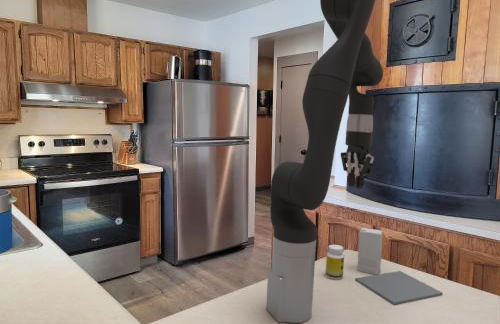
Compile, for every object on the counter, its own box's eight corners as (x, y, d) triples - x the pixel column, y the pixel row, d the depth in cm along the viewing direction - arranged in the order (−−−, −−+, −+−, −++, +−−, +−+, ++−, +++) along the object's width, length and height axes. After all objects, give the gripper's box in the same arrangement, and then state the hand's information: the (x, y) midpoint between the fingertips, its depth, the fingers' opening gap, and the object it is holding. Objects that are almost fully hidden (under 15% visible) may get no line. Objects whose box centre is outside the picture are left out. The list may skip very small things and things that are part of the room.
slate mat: (394, 305, 85) (394, 302, 85) (355, 280, 98) (355, 278, 98) (442, 295, 91) (442, 292, 91) (399, 272, 104) (400, 270, 104)
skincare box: (380, 270, 105) (384, 230, 104) (378, 276, 101) (382, 234, 100) (358, 266, 108) (362, 226, 107) (356, 271, 104) (359, 230, 103)
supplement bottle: (343, 281, 97) (345, 250, 96) (325, 278, 98) (327, 248, 97) (342, 273, 102) (344, 244, 101) (325, 271, 103) (327, 243, 102)
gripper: (334, 129, 113) (331, 183, 115) (365, 130, 100) (360, 192, 102) (354, 129, 116) (350, 182, 118) (386, 131, 103) (381, 191, 105)
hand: (355, 186), depth 110 cm, fingers open, 3 cm apart
